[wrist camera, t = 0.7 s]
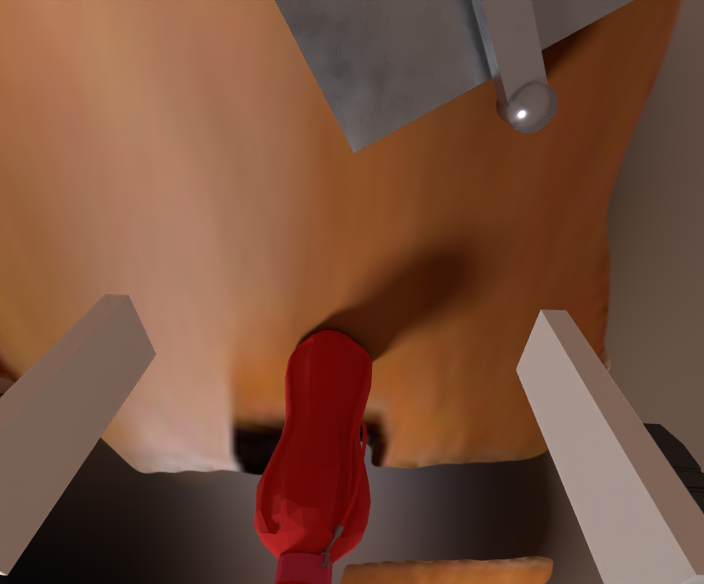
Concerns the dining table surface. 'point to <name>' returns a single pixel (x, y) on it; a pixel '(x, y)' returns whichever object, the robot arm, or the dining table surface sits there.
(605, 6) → the housing
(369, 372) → the water bottle
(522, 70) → the ring nut
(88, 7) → the dining table surface
